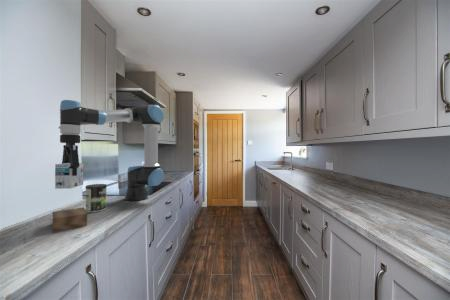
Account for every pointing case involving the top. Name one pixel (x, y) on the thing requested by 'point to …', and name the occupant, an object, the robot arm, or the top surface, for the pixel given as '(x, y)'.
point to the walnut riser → (69, 219)
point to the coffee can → (95, 197)
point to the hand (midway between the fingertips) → (70, 181)
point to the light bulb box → (67, 176)
